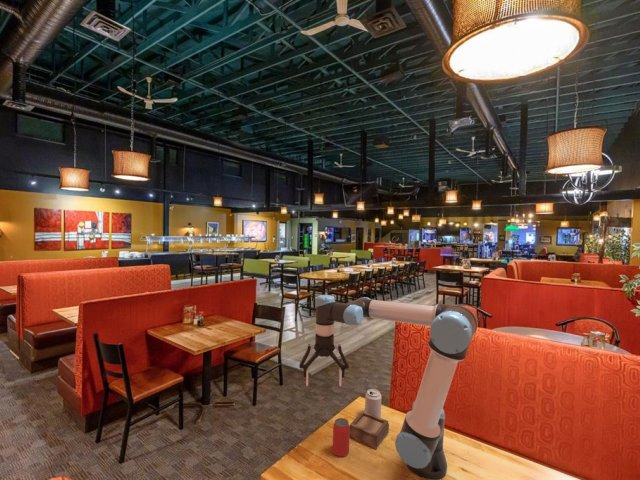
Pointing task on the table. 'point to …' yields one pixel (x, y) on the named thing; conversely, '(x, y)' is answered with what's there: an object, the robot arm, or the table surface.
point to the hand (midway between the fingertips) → (323, 384)
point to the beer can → (341, 437)
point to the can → (373, 402)
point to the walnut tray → (369, 429)
